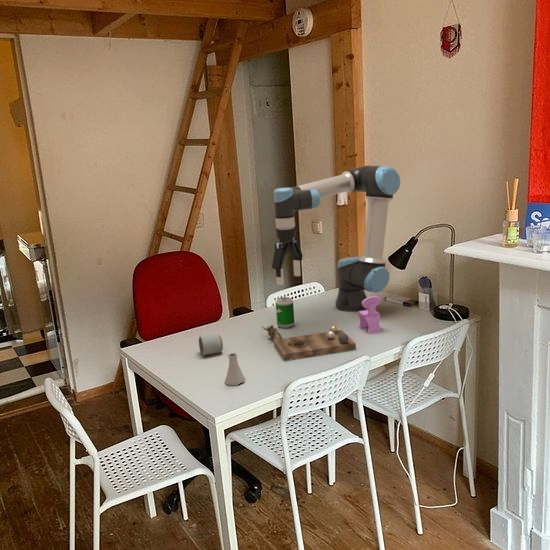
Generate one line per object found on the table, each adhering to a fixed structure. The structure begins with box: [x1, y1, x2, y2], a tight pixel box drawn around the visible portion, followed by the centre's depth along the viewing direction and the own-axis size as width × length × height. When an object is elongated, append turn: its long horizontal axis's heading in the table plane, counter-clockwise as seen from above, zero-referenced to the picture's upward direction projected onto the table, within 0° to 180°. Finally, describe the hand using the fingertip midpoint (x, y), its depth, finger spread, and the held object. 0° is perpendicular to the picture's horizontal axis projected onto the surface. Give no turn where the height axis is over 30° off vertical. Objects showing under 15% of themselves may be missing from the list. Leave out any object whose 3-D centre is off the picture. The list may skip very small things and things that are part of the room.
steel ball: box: [327, 330, 335, 339], centre depth 223 cm, size 3×3×3 cm
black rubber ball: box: [338, 332, 349, 343], centre depth 218 cm, size 4×4×4 cm
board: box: [273, 329, 357, 361], centre depth 222 cm, size 28×16×2 cm, turn 103°
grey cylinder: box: [198, 334, 224, 357], centre depth 225 cm, size 11×8×8 cm
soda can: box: [275, 296, 295, 329], centre depth 248 cm, size 8×8×12 cm
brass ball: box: [329, 325, 338, 333], centre depth 229 cm, size 3×3×3 cm
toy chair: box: [358, 295, 383, 335], centre depth 236 cm, size 8×9×15 cm
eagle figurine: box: [261, 323, 283, 343], centre depth 234 cm, size 8×7×9 cm
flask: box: [224, 352, 246, 386], centre depth 196 cm, size 7×7×10 cm
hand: (289, 280), depth 231 cm, fingers open, 13 cm apart
